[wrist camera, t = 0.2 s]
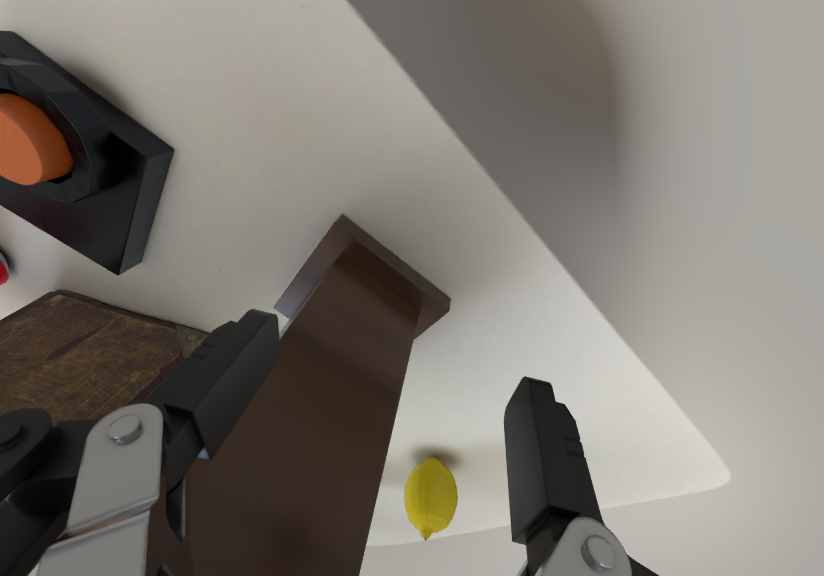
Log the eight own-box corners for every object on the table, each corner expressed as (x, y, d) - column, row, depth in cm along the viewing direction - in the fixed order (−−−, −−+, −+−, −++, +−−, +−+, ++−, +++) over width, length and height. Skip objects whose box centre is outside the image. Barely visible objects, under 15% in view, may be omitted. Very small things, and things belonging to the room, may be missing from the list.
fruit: (441, 476, 40) (434, 557, 33) (402, 457, 39) (387, 537, 32) (468, 459, 37) (467, 544, 30) (427, 438, 36) (415, 521, 29)
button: (-10, 73, 17) (-54, 74, 16) (77, 132, 18) (43, 138, 17) (-6, 142, 20) (-44, 148, 18) (70, 191, 21) (40, 200, 19)
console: (11, 10, 19) (-87, -1, 15) (178, 134, 21) (124, 148, 18) (15, 184, 26) (-53, 202, 22) (140, 262, 28) (96, 289, 25)
